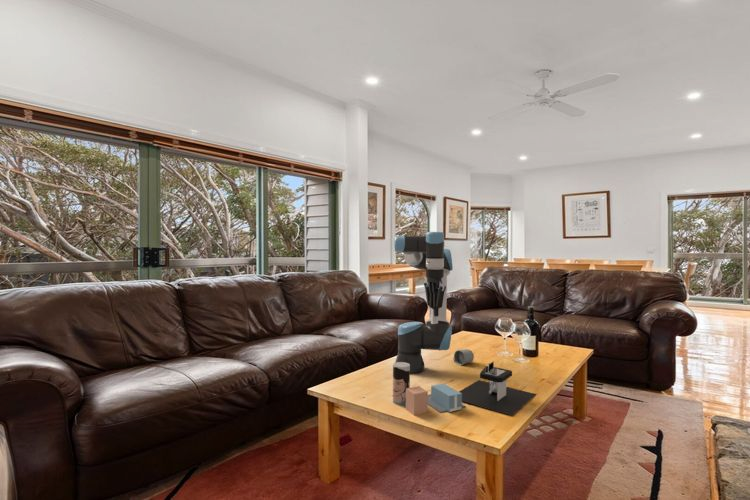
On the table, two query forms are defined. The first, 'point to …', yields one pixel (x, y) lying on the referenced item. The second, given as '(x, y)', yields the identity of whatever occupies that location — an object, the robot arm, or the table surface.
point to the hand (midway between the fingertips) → (434, 323)
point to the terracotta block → (416, 400)
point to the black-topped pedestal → (495, 392)
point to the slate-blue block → (446, 397)
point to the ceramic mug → (463, 356)
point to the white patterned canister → (400, 382)
